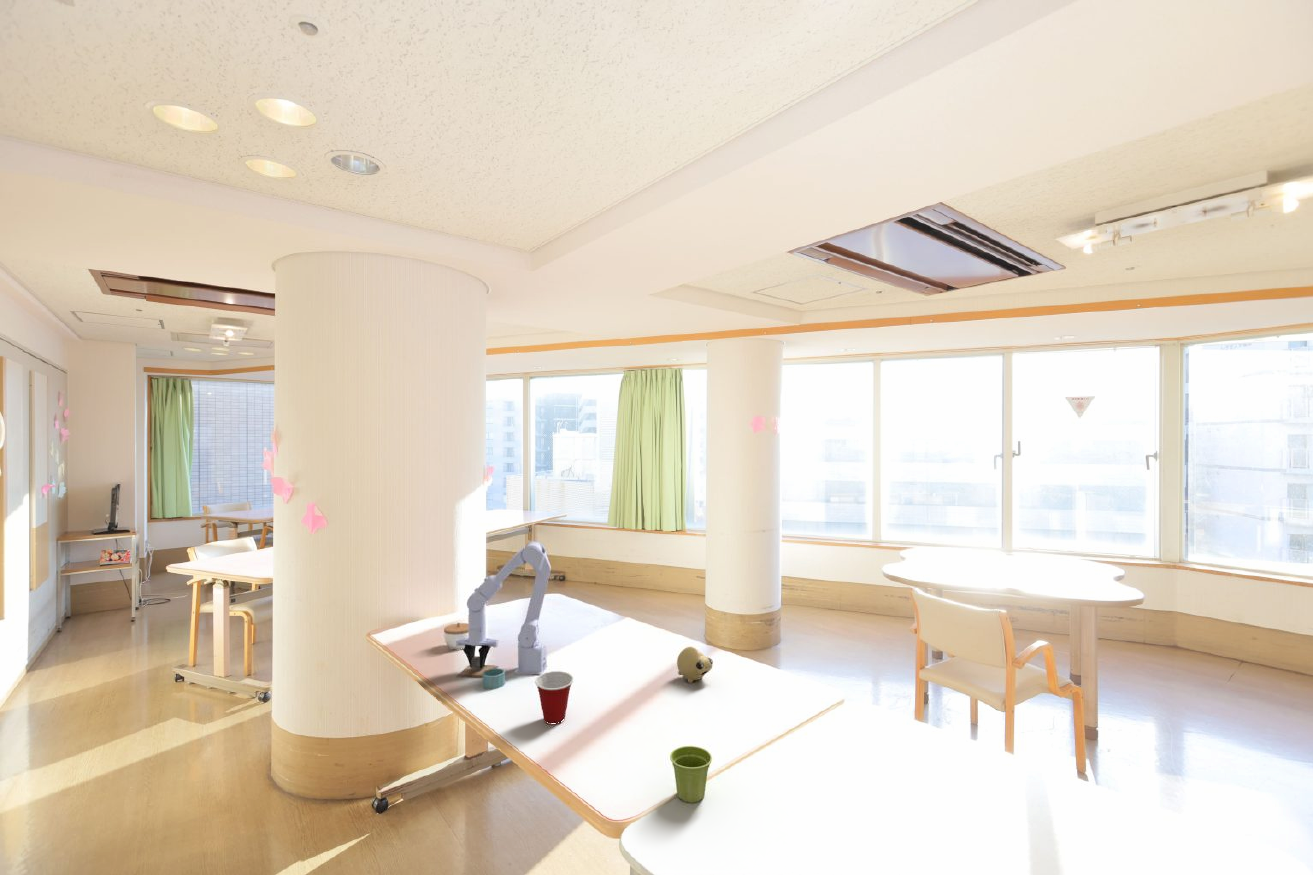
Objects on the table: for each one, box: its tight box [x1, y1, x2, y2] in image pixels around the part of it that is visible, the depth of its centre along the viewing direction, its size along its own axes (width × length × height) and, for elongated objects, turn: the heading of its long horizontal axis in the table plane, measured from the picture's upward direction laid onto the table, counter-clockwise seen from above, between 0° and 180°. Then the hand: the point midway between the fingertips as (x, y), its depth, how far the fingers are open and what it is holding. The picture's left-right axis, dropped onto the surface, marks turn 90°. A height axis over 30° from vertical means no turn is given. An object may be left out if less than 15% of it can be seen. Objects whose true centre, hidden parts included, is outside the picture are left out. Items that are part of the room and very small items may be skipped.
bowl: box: [481, 667, 506, 690], centre depth 197 cm, size 7×7×4 cm
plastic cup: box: [534, 670, 574, 723], centre depth 171 cm, size 11×11×12 cm
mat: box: [455, 665, 499, 679], centre depth 208 cm, size 11×11×1 cm
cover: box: [458, 655, 496, 677], centre depth 208 cm, size 9×9×5 cm
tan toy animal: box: [676, 646, 714, 683], centre depth 200 cm, size 10×12×11 cm
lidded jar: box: [443, 622, 469, 650], centre depth 234 cm, size 11×11×9 cm
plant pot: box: [669, 745, 713, 803], centre depth 135 cm, size 9×9×9 cm
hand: (477, 666), depth 208 cm, fingers closed on cover, 3 cm apart
